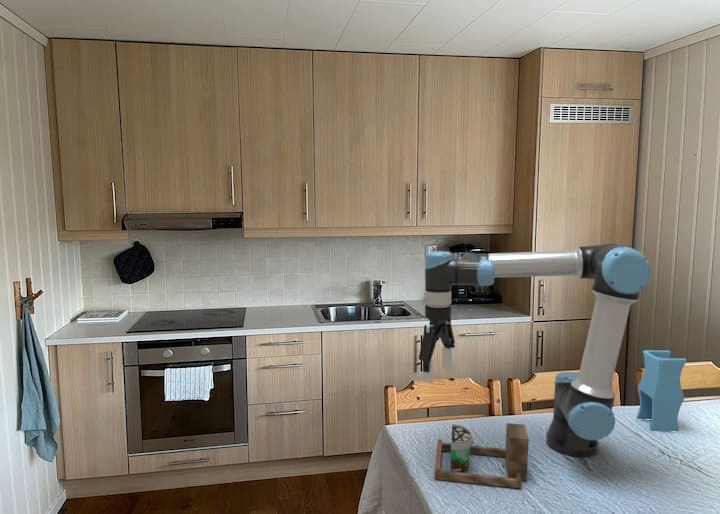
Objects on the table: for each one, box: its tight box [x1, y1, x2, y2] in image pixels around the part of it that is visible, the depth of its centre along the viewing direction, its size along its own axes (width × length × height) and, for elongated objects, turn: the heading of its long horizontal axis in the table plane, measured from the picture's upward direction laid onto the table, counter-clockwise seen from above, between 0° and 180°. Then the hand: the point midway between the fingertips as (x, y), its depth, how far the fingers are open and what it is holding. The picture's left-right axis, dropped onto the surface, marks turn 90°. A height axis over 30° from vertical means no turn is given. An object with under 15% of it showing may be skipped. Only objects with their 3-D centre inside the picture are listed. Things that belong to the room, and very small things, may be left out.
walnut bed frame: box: [434, 422, 530, 489], centre depth 146 cm, size 25×17×12 cm
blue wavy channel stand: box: [635, 349, 687, 432], centre depth 174 cm, size 10×10×25 cm
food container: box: [450, 423, 474, 473], centre depth 147 cm, size 12×6×10 cm, turn 168°
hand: (437, 375), depth 151 cm, fingers open, 13 cm apart
